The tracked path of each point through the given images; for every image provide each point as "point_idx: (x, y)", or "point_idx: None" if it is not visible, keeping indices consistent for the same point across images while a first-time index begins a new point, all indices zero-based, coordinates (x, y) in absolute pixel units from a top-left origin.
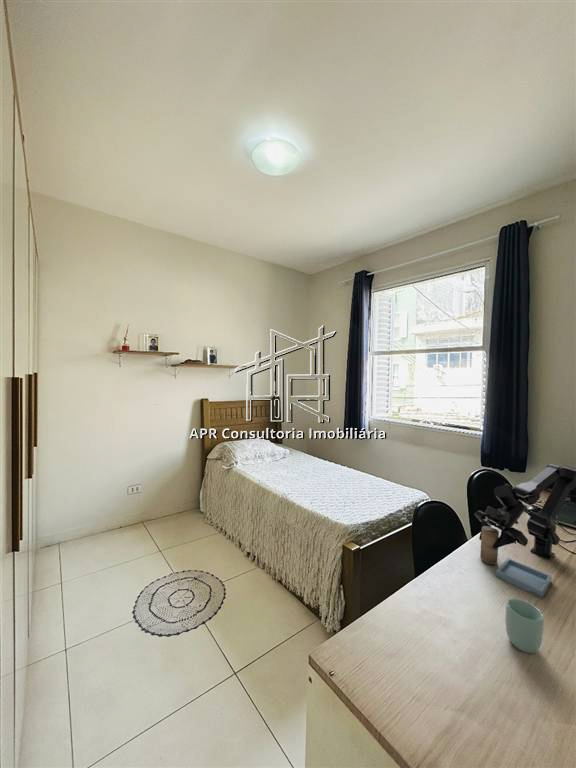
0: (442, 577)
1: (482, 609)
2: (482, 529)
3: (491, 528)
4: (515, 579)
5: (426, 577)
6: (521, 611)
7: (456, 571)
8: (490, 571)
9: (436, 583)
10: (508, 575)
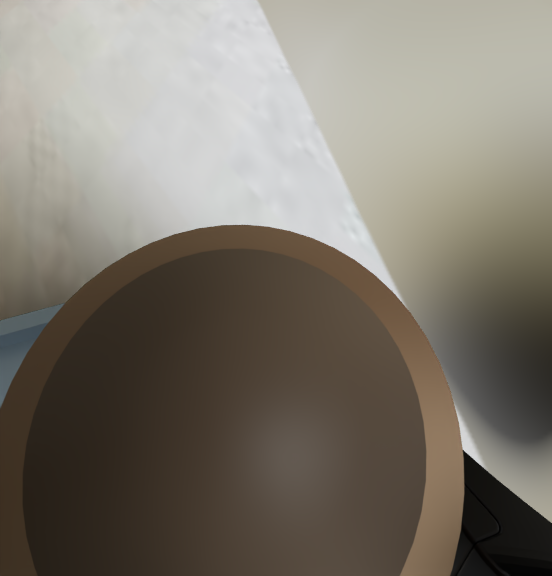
0: (251, 85)
1: (68, 78)
2: (333, 258)
3: (271, 564)
4: (7, 319)
5: (272, 45)
6: None
7: (259, 156)
8: None
9: (233, 50)
10: (52, 313)
